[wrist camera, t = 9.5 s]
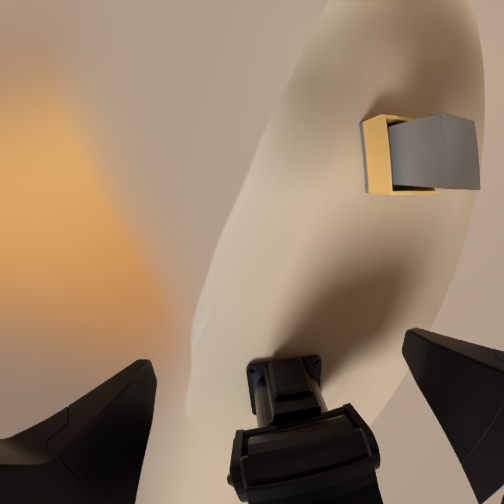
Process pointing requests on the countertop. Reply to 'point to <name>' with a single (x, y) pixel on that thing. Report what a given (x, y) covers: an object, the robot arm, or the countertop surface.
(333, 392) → the countertop surface
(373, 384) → the countertop surface
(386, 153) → the socket block
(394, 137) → the plug
